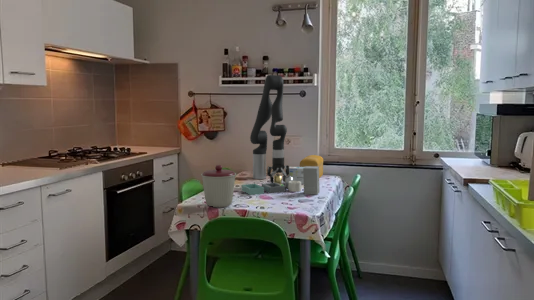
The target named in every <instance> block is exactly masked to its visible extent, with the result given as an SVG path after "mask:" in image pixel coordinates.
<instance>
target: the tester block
mask: <svg viewBox="0 0 534 300" xmlns="http://www.w3.org/2000/svg"><path fill="white" fill-rule="evenodd" d="M261 187H263V188H264V192H266V193H268V194H278V193H285V192H286V189H285V184H283V183H282V184H279V183H274V182H273V183H271V182H268V183H261Z"/></svg>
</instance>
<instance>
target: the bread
mask: <svg viewBox="0 0 534 300" xmlns="http://www.w3.org/2000/svg"><path fill="white" fill-rule="evenodd" d="M306 166H312V167H319V179H321V177H323V174H324V158H323V157H322V156H321V155H318V154H317V155H316V154H309V155H307V156H306V157H304V158H302V159H301V160H300V161H299V167H306Z"/></svg>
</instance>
